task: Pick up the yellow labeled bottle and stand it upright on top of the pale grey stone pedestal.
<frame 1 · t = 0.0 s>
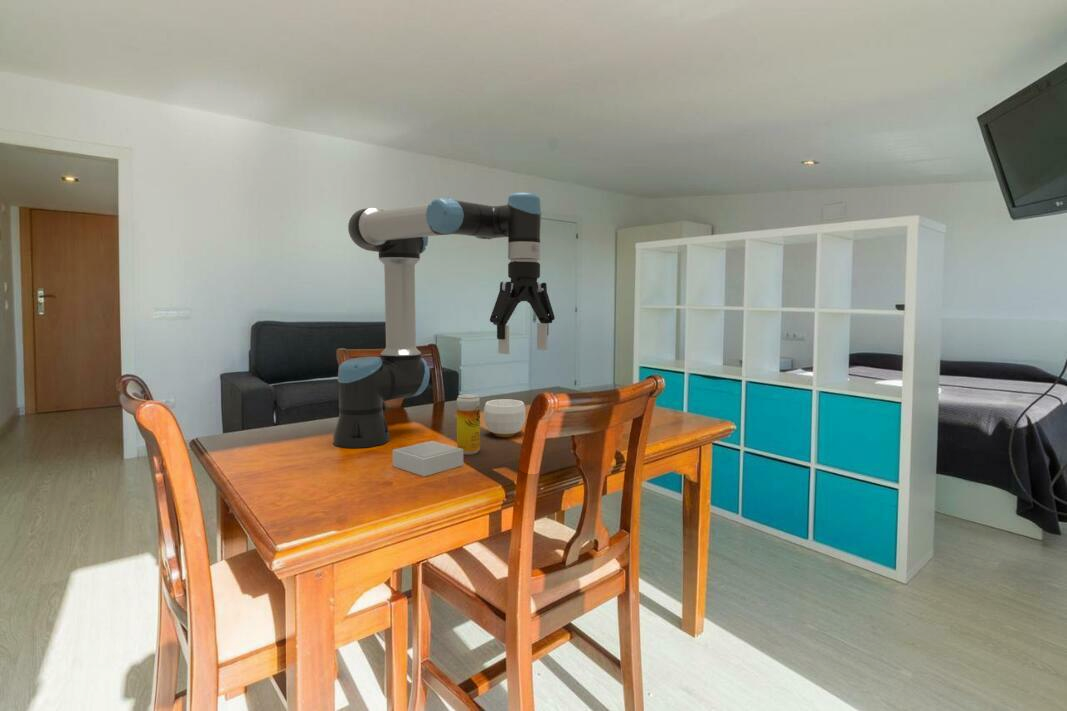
hand: (523, 351, 138), 28 cm above the table, fingers open, 13 cm apart
yellow labeled bottle: (468, 452, 154), on the table
cup: (504, 435, 173), on the table
pedestal: (428, 465, 141), on the table
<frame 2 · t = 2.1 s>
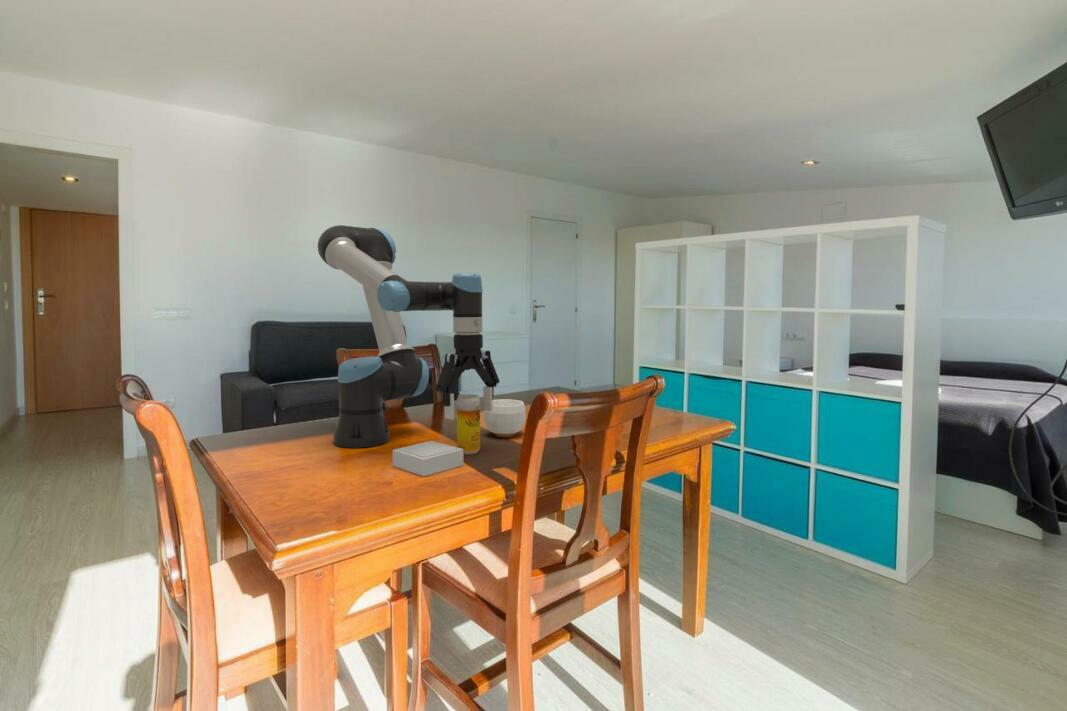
hand: (469, 414, 152), 10 cm above the table, fingers open, 13 cm apart
nothing on the table moved.
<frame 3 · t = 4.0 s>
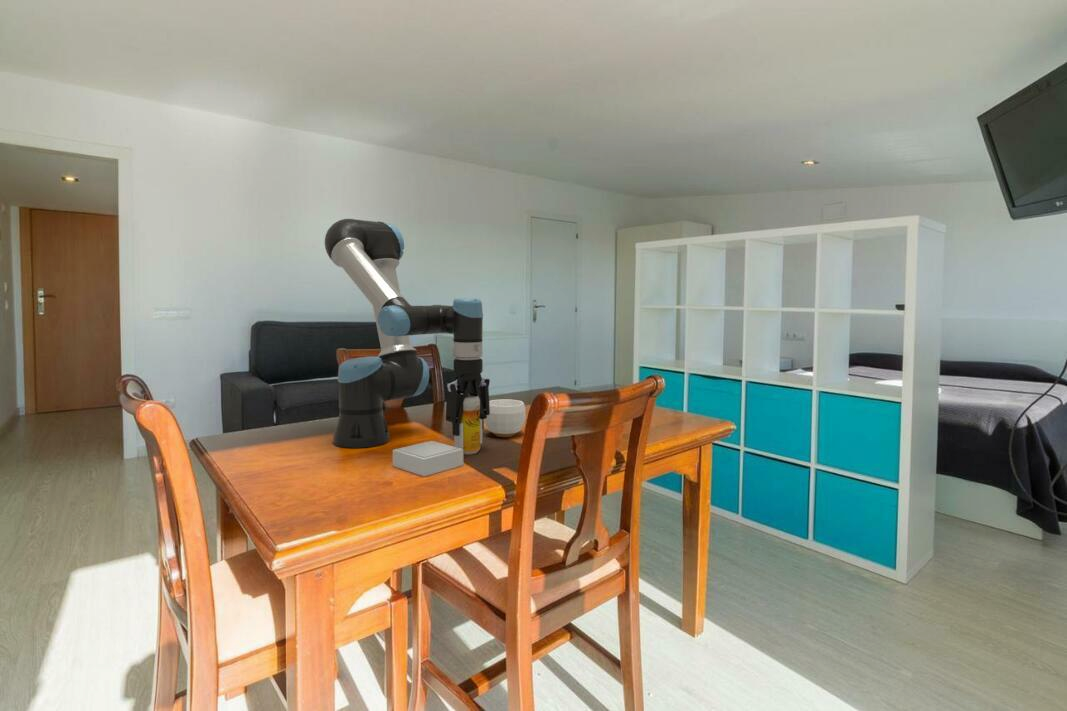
hand: (468, 444, 154), 2 cm above the table, fingers closed on yellow labeled bottle, 6 cm apart
yellow labeled bottle: (468, 452, 154), on the table, touching gripper
everything else where it was.
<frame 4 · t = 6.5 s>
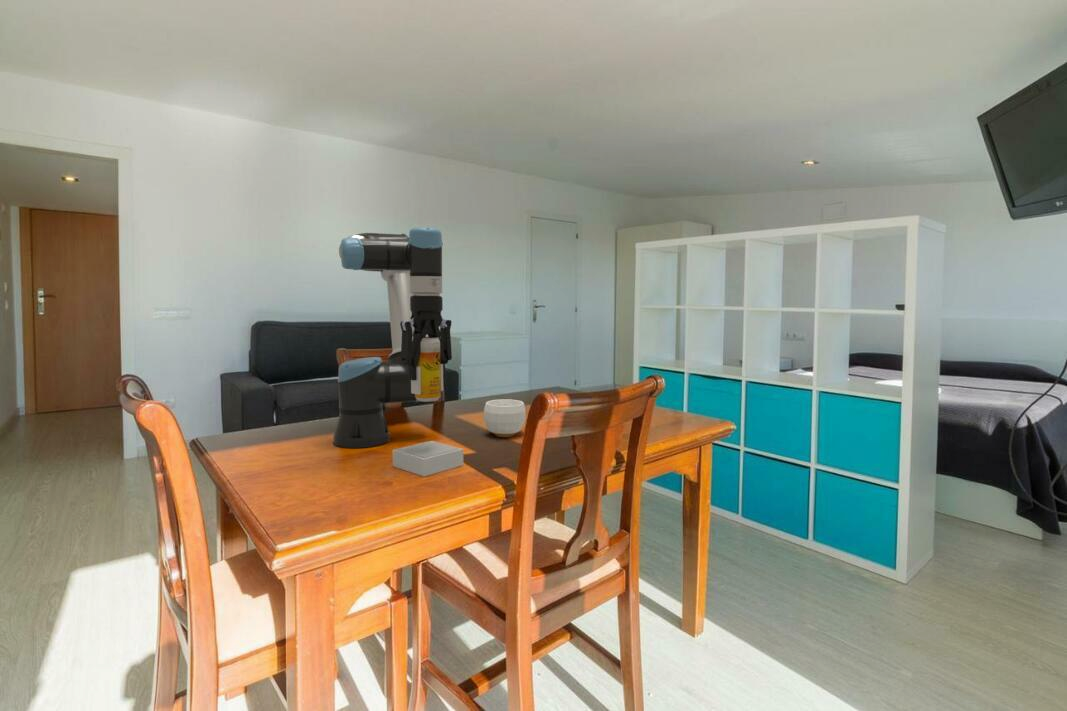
hand: (427, 391, 139), 18 cm above the table, fingers closed on yellow labeled bottle, 6 cm apart
yellow labeled bottle: (427, 400, 139), point 16 cm above the table, touching gripper
everything else where it was.
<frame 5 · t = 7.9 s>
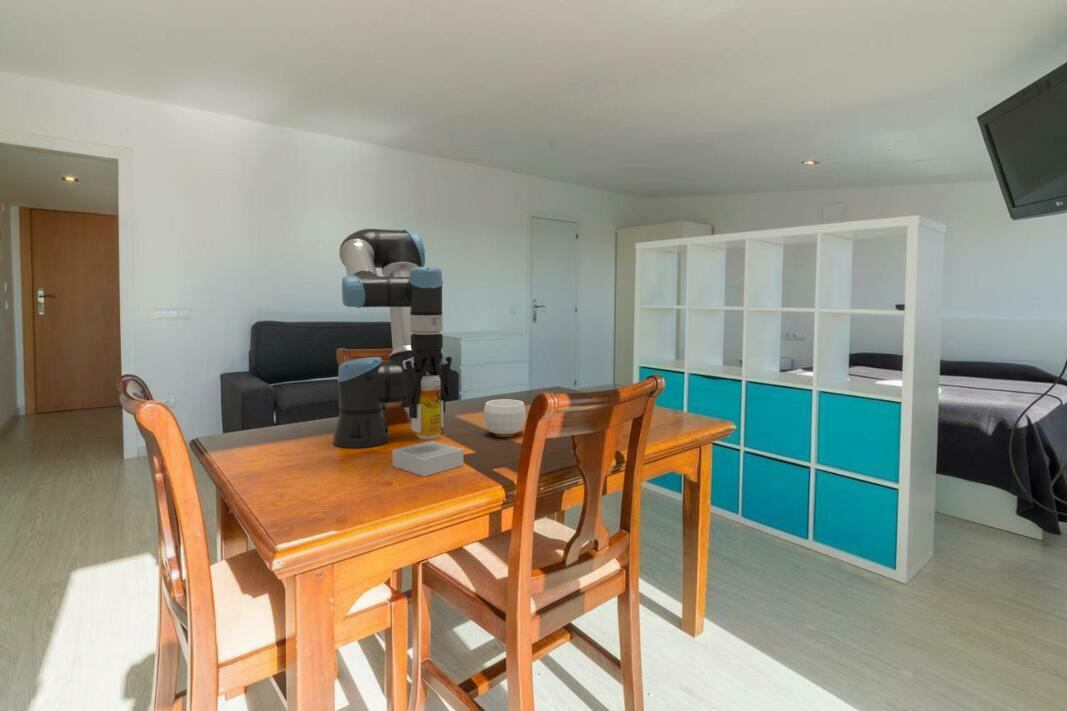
hand: (427, 428, 140), 9 cm above the table, fingers closed on yellow labeled bottle, 6 cm apart
yellow labeled bottle: (428, 437, 140), point 7 cm above the table, touching gripper
everything else where it was.
when the fingers open (7 cm above the table, at t = 9.1 s): yellow labeled bottle drops 1 cm, resting on pedestal.
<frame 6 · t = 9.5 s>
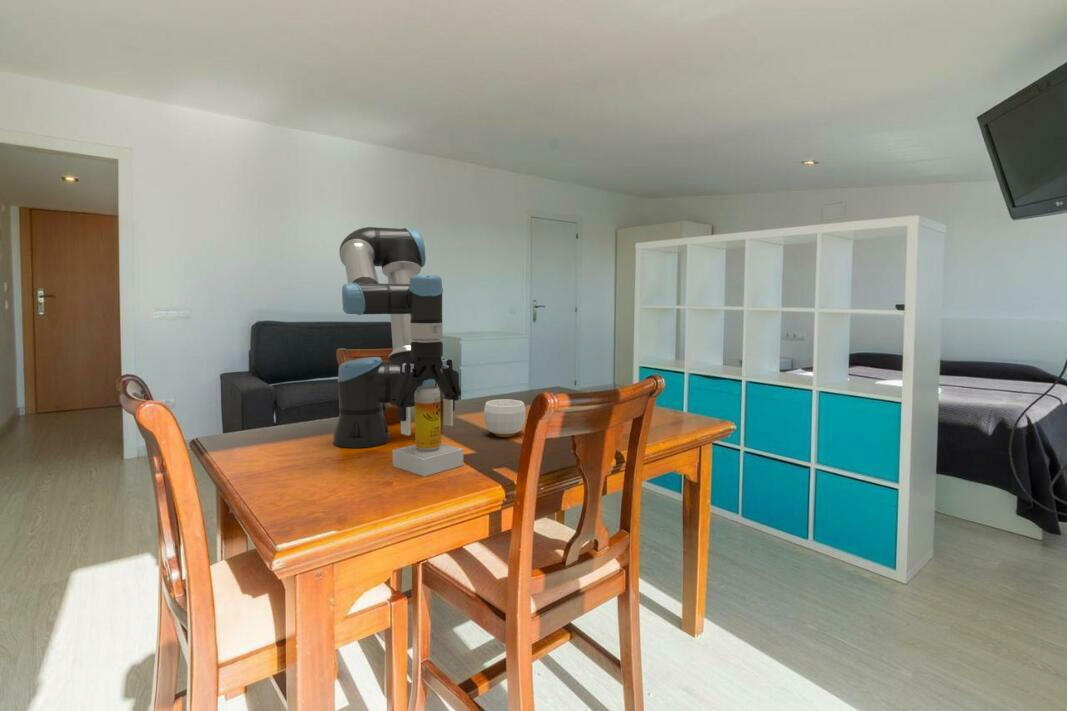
hand: (427, 429, 140), 9 cm above the table, fingers open, 12 cm apart
yellow labeled bottle: (428, 449, 141), point 4 cm above the table, touching pedestal
everything else where it was.
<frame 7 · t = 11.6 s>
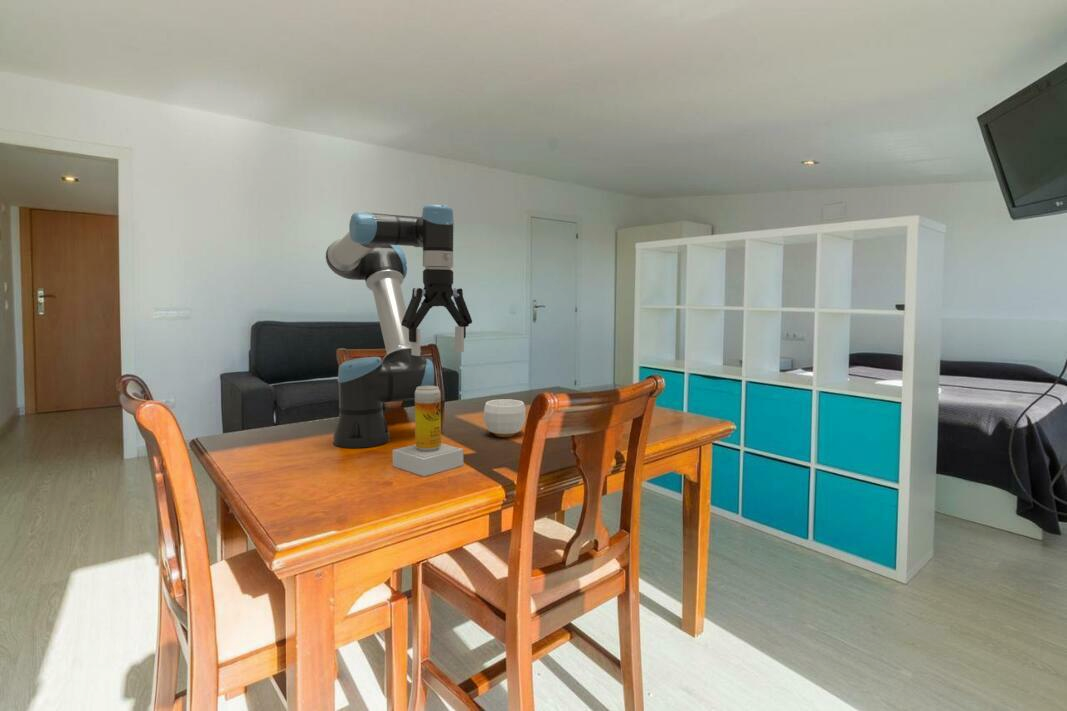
hand: (438, 353, 148), 26 cm above the table, fingers open, 13 cm apart
nothing on the table moved.
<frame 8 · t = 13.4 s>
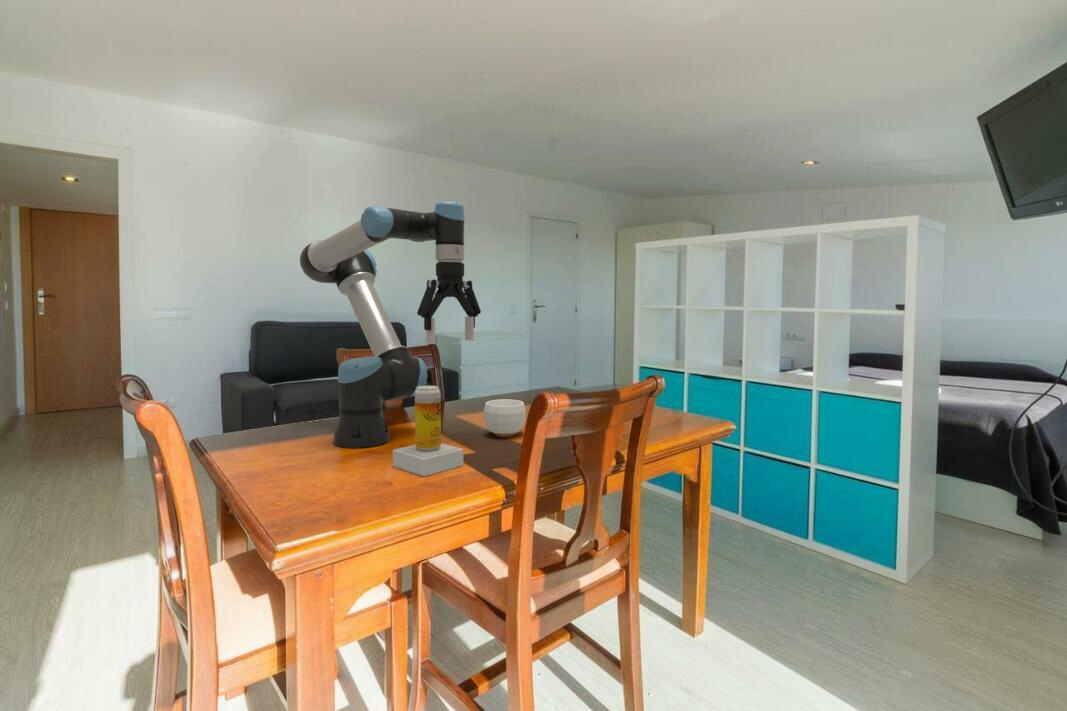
hand: (450, 341, 157), 29 cm above the table, fingers open, 13 cm apart
nothing on the table moved.
at the end: yellow labeled bottle inside the target area on the pedestal (0.0 cm from its centre), point 4.1 cm above the pedestal's base; yellow labeled bottle tilted 0°; the gripper is holding nothing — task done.
